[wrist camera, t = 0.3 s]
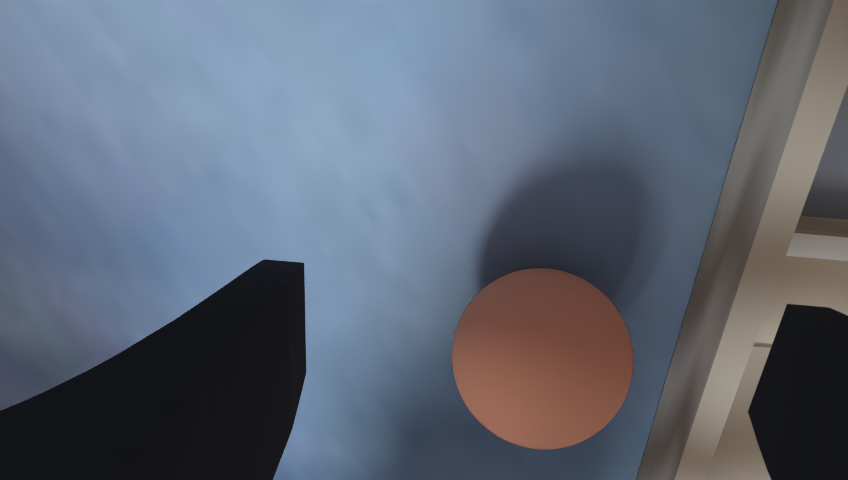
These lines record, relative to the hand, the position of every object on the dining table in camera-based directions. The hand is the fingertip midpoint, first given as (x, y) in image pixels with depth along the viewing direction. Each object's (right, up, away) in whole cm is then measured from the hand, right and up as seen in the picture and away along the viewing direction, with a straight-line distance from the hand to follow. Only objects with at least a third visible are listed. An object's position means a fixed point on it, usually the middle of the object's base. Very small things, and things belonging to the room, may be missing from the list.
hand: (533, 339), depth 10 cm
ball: (+2, -2, +9) cm, 9 cm away
